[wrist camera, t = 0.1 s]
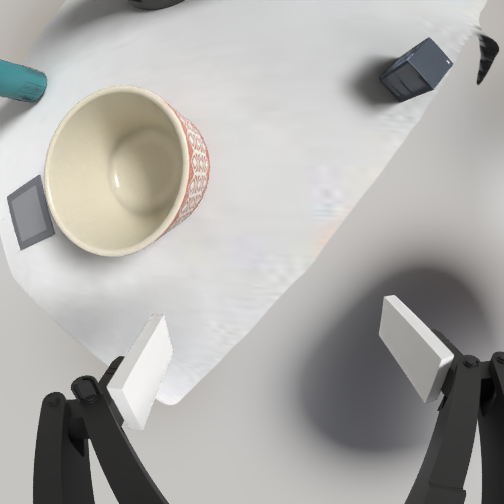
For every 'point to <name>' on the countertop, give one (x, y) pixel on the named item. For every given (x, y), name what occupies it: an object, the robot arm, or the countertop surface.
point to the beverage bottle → (21, 82)
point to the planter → (123, 171)
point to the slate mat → (30, 213)
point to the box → (417, 71)
